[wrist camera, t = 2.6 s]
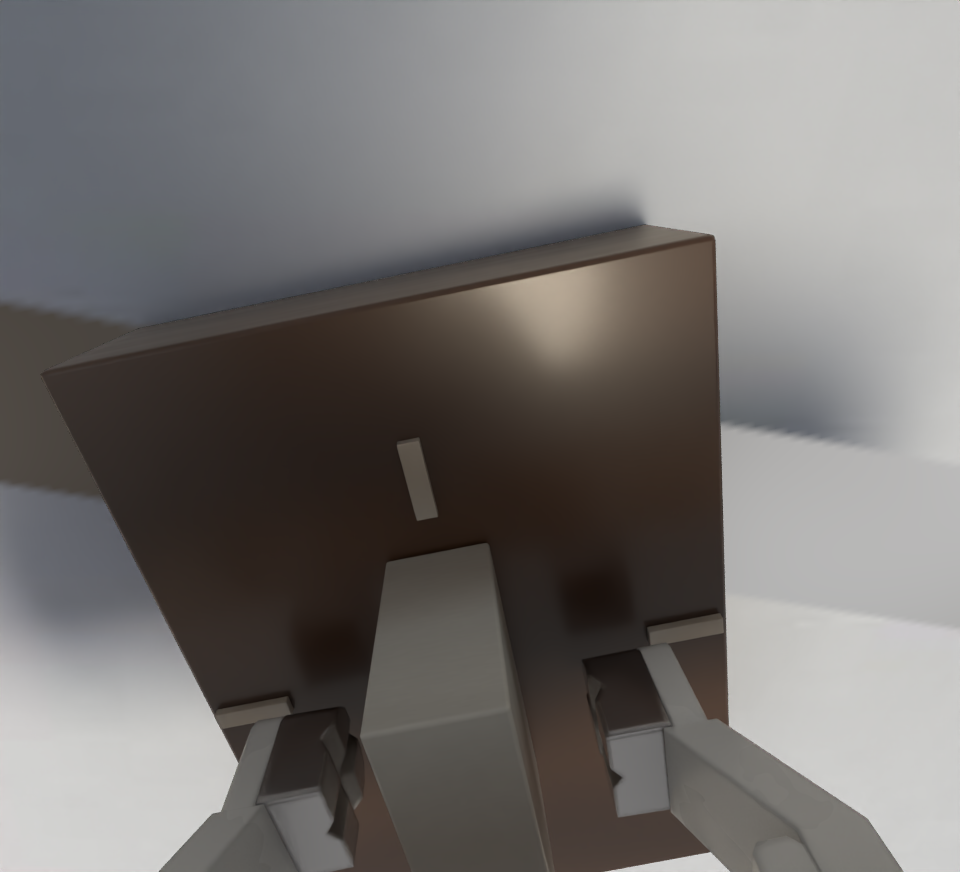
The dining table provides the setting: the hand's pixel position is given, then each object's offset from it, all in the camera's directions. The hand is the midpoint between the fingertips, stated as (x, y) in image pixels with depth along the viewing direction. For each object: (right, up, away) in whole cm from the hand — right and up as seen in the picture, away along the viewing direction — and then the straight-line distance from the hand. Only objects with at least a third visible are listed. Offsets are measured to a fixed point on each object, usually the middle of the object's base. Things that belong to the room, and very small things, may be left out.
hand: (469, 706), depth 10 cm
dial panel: (0, +1, +4) cm, 4 cm away
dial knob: (0, 0, +1) cm, 1 cm away
